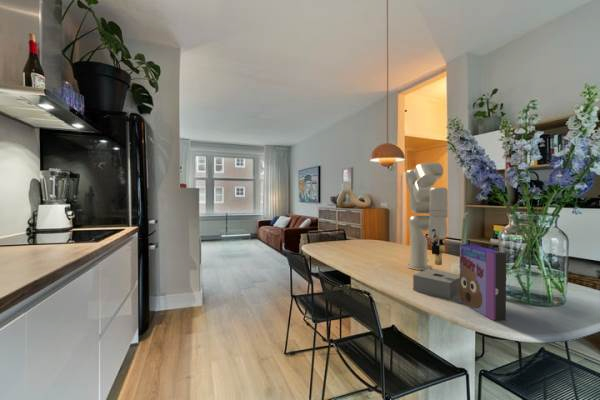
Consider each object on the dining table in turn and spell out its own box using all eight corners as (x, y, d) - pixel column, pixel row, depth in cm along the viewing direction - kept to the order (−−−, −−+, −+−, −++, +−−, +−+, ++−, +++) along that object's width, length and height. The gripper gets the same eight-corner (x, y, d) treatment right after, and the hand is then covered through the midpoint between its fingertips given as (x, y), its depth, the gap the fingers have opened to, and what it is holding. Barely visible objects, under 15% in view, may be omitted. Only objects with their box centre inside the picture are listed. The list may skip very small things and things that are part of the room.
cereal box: (459, 301, 113) (459, 244, 113) (470, 301, 114) (470, 243, 113) (493, 321, 96) (493, 252, 96) (505, 320, 96) (506, 252, 96)
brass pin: (434, 262, 130) (434, 243, 130) (446, 264, 126) (446, 244, 126) (430, 264, 127) (430, 244, 127) (442, 266, 123) (442, 246, 123)
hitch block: (428, 282, 138) (428, 268, 138) (463, 290, 127) (463, 275, 126) (413, 289, 128) (413, 274, 128) (450, 299, 116) (450, 283, 116)
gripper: (437, 213, 135) (437, 249, 135) (421, 214, 124) (422, 254, 124) (454, 213, 129) (454, 252, 130) (439, 215, 118) (439, 257, 118)
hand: (438, 252), depth 127 cm, fingers closed on brass pin, 5 cm apart
